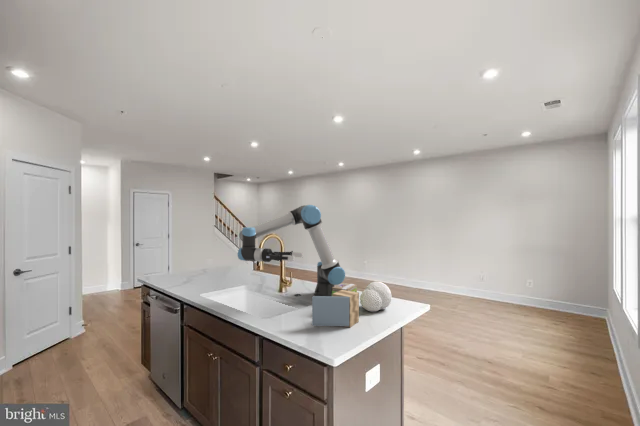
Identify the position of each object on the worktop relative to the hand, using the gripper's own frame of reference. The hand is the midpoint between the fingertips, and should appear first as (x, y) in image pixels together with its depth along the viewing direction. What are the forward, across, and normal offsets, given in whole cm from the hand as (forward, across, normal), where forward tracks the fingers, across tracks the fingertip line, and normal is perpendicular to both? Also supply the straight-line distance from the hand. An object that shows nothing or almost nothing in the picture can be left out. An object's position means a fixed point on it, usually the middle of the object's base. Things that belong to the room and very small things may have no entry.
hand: (298, 256), depth 167 cm
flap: (+22, +14, -31) cm, 40 cm away
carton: (+28, +5, -32) cm, 42 cm away
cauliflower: (+40, -22, -32) cm, 56 cm away
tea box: (+23, -13, -32) cm, 42 cm away
